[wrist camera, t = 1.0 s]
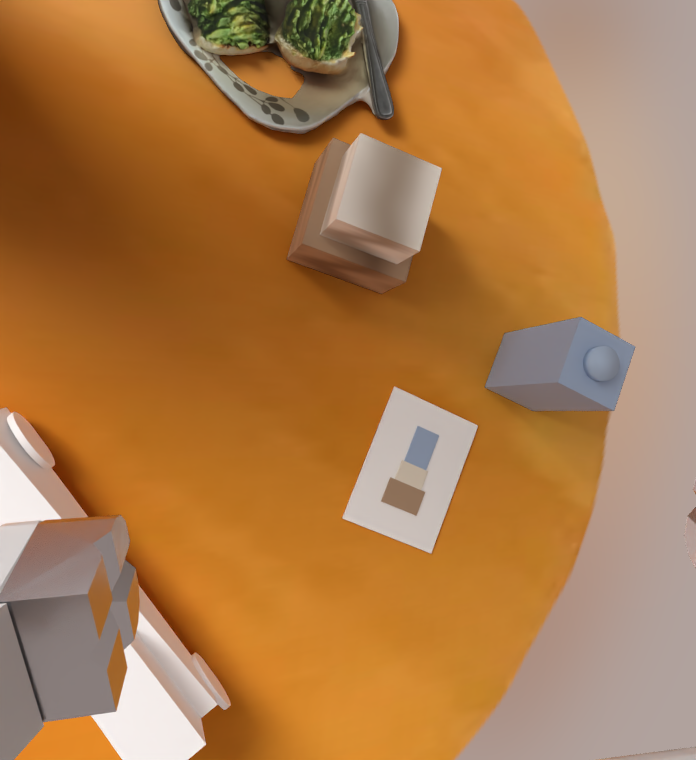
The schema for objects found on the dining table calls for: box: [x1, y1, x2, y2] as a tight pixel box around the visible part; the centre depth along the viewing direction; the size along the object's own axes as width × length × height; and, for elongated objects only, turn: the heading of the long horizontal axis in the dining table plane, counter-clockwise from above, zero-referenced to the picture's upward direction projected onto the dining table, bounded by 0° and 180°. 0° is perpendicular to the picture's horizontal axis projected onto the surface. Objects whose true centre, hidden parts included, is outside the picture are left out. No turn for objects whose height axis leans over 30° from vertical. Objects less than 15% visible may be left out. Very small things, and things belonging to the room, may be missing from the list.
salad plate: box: [158, 0, 399, 134], centre depth 49 cm, size 19×18×5 cm
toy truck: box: [0, 407, 231, 760], centre depth 40 cm, size 25×7×9 cm, turn 35°
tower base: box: [287, 133, 442, 294], centre depth 47 cm, size 8×8×9 cm
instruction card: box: [342, 387, 478, 553], centre depth 52 cm, size 8×11×1 cm
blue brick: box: [485, 317, 635, 411], centre depth 50 cm, size 5×5×11 cm
